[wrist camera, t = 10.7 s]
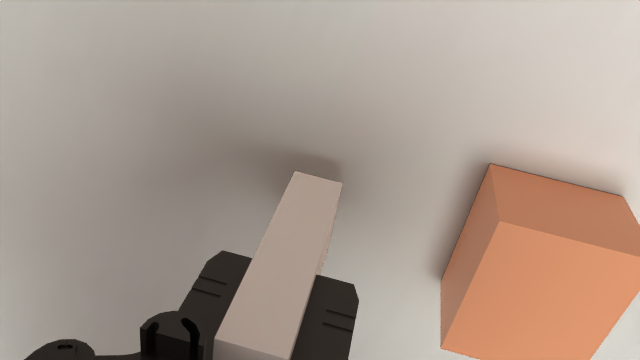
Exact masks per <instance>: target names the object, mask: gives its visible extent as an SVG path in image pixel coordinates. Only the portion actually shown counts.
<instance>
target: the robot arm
mask: <svg viewBox="0 0 640 360" xmlns="http://www.w3.org/2000/svg"><path fill="white" fill-rule="evenodd" d="M342 185H343V183H340V182H336V181H332V180H328V179H324V178H320V177H316V176H312V175H308V174H304V173H300V172H296V171H295V172H294V174H293V176H292V178H291V180H290V182H289V184H288V186H287V188H286V190H285V192H284V194H283V197H282V199H281V201H280V203H279V205H278V207H277V209H276V211H275V213H274V215H273V217H272V219H271V221H270V224H269V226H268V228H267V230H266V232H265V234H264V236H263V238H262V240H261V242H260V244H259V246H258V249H257V251H256V253H255V255H254V257H253V258H249V257H245V256H242V255H238V254H234V253H230V252H227V251H223V250H222V251H221V252H220V253H218V254H217V255H215V256H214V257H213V258H211V259H210V260H208V261H207V263H206V264H205V266H204V268H203V270H202V271H201V273H200V275H199V277H198V279H197V280H196V281H195V283H194V285H193V286H192V289H191V291H189V293H188V295H187V297H186V298H185V300H184V302H183V303H182V305H181V307H180V308H179V310H178V311H170V312H164V313H160V314H158V315H156V316H154V317H152V318H150V319H148V320H147V321H146V322H145V323H144V324H143V325H142V326H141V327H140V344H141V352H138V353H135V354H129V355H109V356H95V353H94V350H93V349H92V348H91V347H90V346H89V345H88V344H87V343H84V342H81V341H78V340H75V339H62V340H58V341H54V342H51V343H48V344H46V345H44V346H42V347H41V348H39V349H37V350H36V351H34V352H33V353H32V354H31V355H29V356H28V357H27V358H26V359H24V360H348V356H349V351H350V346H351V340H352V335H353V330H354V324H355V319H356V314H357V309H358V303H359V299H358V296H357V293H356V290H355V287H354V284H350V283H347V282H343V281H339V280H335V279H332V278H328V277H324V276H321V275H320V274H321V271H322V267H323V264H324V261H325V257H326V254H327V250H328V246H329V242H330V237H331V233H332V229H333V224H334V220H335V215H336V211H337V207H338V202H339V198H340V194H341V189H342Z"/></svg>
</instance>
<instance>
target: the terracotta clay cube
mask: <svg viewBox="0 0 640 360" xmlns="http://www.w3.org/2000/svg"><path fill="white" fill-rule="evenodd" d="M639 291H640V226H639V224H638V222H637V220H636V218H635V217H634V215H633V213H632V211H631V209H630V208H629V206H628V204H627V202H626V200H625V199H624V197H621V196H617V195H613V194H609V193H605V192H601V191H597V190H593V189H589V188H585V187H581V186H577V185H573V184H569V183H565V182H561V181H557V180H553V179H549V178H545V177H541V176H537V175H533V174H529V173H525V172H521V171H517V170H513V169H509V168H505V167H501V166H497V165H493V164H490V165H489V167H488V170H487V172H486V175H485V177H484V179H483V182H482V184H481V187H480V189H479V191H478V194H477V196H476V198H475V201H474V203H473V206H472V208H471V210H470V213H469V215H468V218H467V220H466V222H465V225H464V227H463V230H462V232H461V234H460V237H459V239H458V242H457V244H456V246H455V249H454V251H453V254H452V256H451V258H450V261H449V263H448V266H447V268H446V270H445V273H444V275H443V278H442V280H441V349H444V350H448V351H451V352H455V353H458V354H462V355H466V356H469V357H473V358H476V359H480V360H590V359H591V357H592V356H593V355H594V353H595V352H596V350H597V349H598V348H599V346H600V345H601V344H602V342H603V341H604V339H605V338H606V337H607V335H608V334H609V332H610V331H611V330H612V328H613V327H614V325H615V324H616V323H617V321H618V320H619V318H620V317H621V316H622V314H623V313H624V312H625V310H626V309H627V307H628V306H629V305H630V303H631V302H632V300H633V299H634V298H635V296H636V295H637V293H638V292H639Z"/></svg>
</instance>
